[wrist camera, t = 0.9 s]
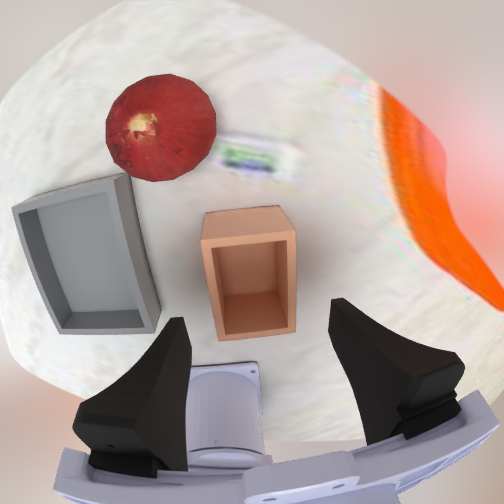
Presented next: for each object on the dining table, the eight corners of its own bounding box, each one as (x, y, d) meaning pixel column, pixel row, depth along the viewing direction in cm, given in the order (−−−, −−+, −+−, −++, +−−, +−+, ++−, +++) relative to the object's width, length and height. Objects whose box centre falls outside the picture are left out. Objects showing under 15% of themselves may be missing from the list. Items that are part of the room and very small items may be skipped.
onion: (151, 185, 18) (106, 223, 10) (118, 111, 15) (54, 106, 8) (231, 148, 17) (235, 161, 10) (198, 72, 15) (178, 32, 8)
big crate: (161, 309, 22) (154, 333, 19) (72, 313, 21) (59, 334, 19) (129, 171, 17) (113, 180, 14) (33, 196, 17) (11, 207, 14)
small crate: (282, 291, 22) (295, 332, 18) (218, 298, 22) (218, 341, 17) (278, 205, 19) (295, 230, 15) (206, 212, 19) (200, 240, 14)
